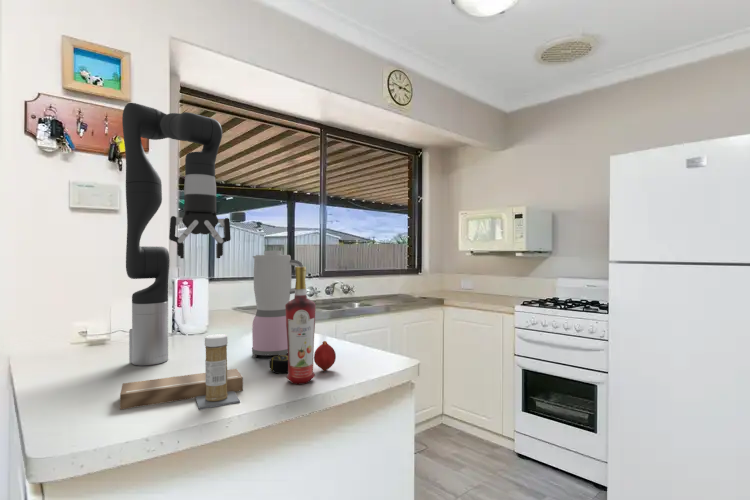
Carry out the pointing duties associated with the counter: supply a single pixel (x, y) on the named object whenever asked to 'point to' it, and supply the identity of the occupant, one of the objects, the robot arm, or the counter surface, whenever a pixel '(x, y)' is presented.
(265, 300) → the blender
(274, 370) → the tape measure
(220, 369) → the sprinkles bottle
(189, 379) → the walnut board
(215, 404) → the grey pad
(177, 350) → the counter surface
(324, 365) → the onion
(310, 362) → the liquor
